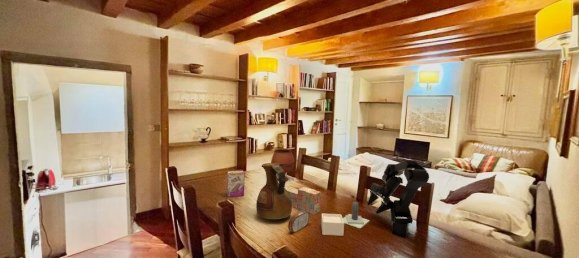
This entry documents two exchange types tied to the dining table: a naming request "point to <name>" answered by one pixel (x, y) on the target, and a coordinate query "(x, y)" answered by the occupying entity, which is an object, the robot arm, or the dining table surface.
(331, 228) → the box
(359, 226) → the mat
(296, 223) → the tin
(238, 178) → the candy bar box
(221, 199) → the dining table surface
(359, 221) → the lid
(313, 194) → the stack of blocks
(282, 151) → the brown clay pot
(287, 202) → the ceramic pitcher
